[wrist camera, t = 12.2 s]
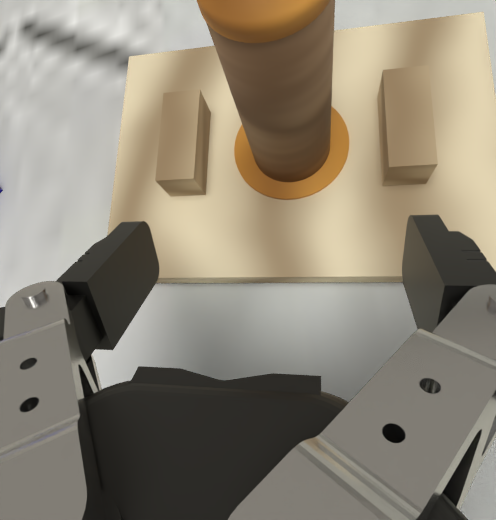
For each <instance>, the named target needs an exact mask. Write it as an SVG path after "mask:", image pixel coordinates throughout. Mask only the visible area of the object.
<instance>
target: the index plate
mask: <svg viewBox="0 0 496 520" xmlns="http://www.w3.org/2000/svg"><path fill="white" fill-rule="evenodd" d="M410 215H439V216H440V218H441V219H442V221H443V222H444V224H445V226H446V227H447V229H448V230H449V231H459V232H461V233H463V234H464V235H466V236H468V237H469V238H471V239H473V240H474V242H475V243H476V245H477V246H478V247H479V249H480V250H481V252H482V253H483V254H484V256H485V257H486V259H487V261H488V262H489V263H490V264H491V266H492V267H493V269H494V270H495V271H496V98H495V91H494V83H493V76H492V69H491V62H490V55H489V48H488V41H487V33H486V26H485V19H484V12H478V13H470V14H462V15H454V16H446V17H439V18H431V19H423V20H415V21H407V22H399V23H391V24H383V25H375V26H367V27H360V28H352V29H344V30H336V31H334V42H333V73H332V104H331V134H330V151H329V155H328V158H327V160H326V162H325V163H324V165H323V166H322V167H321V168H320V169H319V170H318V171H317V172H316V173H315V174H313V175H312V176H310V177H308V178H306V179H304V180H301V181H297V182H280V181H276V180H274V179H271V178H270V177H268V176H266V175H265V174H264V173H263V172H262V171H261V170H260V169H259V167H258V166H257V164H256V162H255V159H254V156H253V153H252V151H251V148H250V145H249V142H248V139H247V136H246V134H245V131H244V128H243V125H242V122H241V119H240V116H239V114H238V111H237V108H236V105H235V102H234V99H233V97H232V94H231V91H230V88H229V85H228V82H227V79H226V77H225V74H224V71H223V68H222V65H221V62H220V60H219V57H218V54H217V51H216V48H215V46H209V47H202V48H194V49H186V50H178V51H170V52H162V53H154V54H146V55H138V56H130V57H129V64H128V72H127V80H126V88H125V96H124V105H123V113H122V121H121V129H120V137H119V145H118V154H117V162H116V170H115V178H114V186H113V194H112V203H111V211H110V219H109V227H108V235H109V234H110V233H111V232H112V231H113V230H114V229H115V228H116V227H117V226H118V225H119V224H120V223H121V222H134V221H145V222H147V224H148V225H149V227H150V230H151V234H152V238H153V242H154V246H155V250H156V254H157V257H158V261H159V277H158V280H157V282H156V283H306V282H403V279H402V260H403V252H404V244H405V236H406V227H407V221H408V218H409V216H410ZM108 235H107V236H108Z"/></svg>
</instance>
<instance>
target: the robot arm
mask: <svg viewBox="0 0 496 520" xmlns="http://www.w3.org/2000/svg"><path fill="white" fill-rule="evenodd" d="M158 277H159V261H158V257H157V254H156V250H155V246H154V242H153V238H152V234H151V230H150V227H149V225H148V224H147V222H145V221H134V222H121V223H120V224H119V225H118V226H117V227H116V228H115V229H114V230H113V231H112V232H111V233H110V234H109V235H108V236H107V237H106V238H104V239H102V240H101V241H99V242H97V243H95V244H94V245H93V246H92V247H91V248H90V249H89V250H88V251H87V252H85V255H82V256H81V257H80V258H79V259H78V262H75V263H74V264H73V265H72V266H71V267H70V268H69V269H68V270H67V271H66V272H65V273H64V274H63V275H62V276H61V277H60V278H59V279H58V280H57V281H46V282H40V283H36V284H33V285H30V286H28V287H25V288H23V289H21V290H20V291H18V292H16V293H15V294H14V295H12V296H11V297H10V298H9V300H8V301H7V303H6V306H5V307H2V308H0V520H468V519H467V518H466V517H465V516H464V515H463V514H462V513H461V512H460V511H459V510H460V508H461V506H462V504H463V502H464V500H465V498H466V496H467V493H468V491H469V489H470V487H471V484H472V482H473V480H474V478H475V475H476V473H477V471H478V469H479V467H480V465H481V464H482V462H483V460H484V458H485V456H486V454H487V452H488V451H489V449H490V447H491V445H492V443H493V441H494V440H495V438H496V271H495V270H494V269H493V267H492V266H491V264H490V263H489V262H488V261H487V259H486V257H485V256H484V254H483V253H482V252H481V250H480V249H479V247H478V246H477V245H476V243H475V242H474V240H473V239H471V238H469V237H468V236H466V235H464V234H463V233H461V232H459V231H449V230H448V229H447V227H446V226H445V224H444V222H443V221H442V219H441V218H440V216H439V215H410V216H409V218H408V221H407V227H406V236H405V244H404V252H403V260H402V279H403V284H404V287H405V290H406V293H407V297H408V300H409V303H410V306H411V309H412V312H413V316H414V319H415V322H416V325H417V328H418V330H417V331H415V332H414V333H413V334H412V335H411V337H410V338H409V339H408V340H407V341H406V342H405V343H404V344H403V345H402V346H401V347H400V348H399V349H398V351H397V352H396V353H395V354H394V355H393V356H392V357H391V358H390V359H389V360H388V361H387V362H386V363H385V365H384V366H383V367H382V368H381V369H380V370H379V371H378V372H377V373H376V374H375V375H374V376H373V377H372V379H371V380H370V381H369V382H368V383H367V384H366V385H365V386H364V387H363V388H362V389H361V390H360V392H359V393H358V394H357V395H356V396H355V397H354V398H353V399H352V400H351V401H350V402H347V401H345V400H344V399H342V398H339V397H337V396H334V395H332V394H329V393H325V392H322V391H321V376H309V375H290V374H267V375H260V376H253V377H247V378H240V379H233V380H225V381H224V380H217V379H214V378H211V377H207V376H204V375H200V374H197V373H193V372H190V371H187V370H183V369H177V368H158V367H138V369H137V371H136V373H135V374H134V376H133V378H132V380H131V381H126V382H122V383H119V384H115V385H112V386H109V387H107V388H104V389H102V388H101V384H100V380H99V376H98V372H97V368H96V363H95V361H94V358H93V356H92V353H93V351H94V350H95V349H104V350H113V349H114V348H115V346H116V344H117V343H118V341H119V340H120V338H121V337H122V335H123V333H124V332H125V330H126V329H127V327H128V326H129V324H130V323H131V321H132V319H133V318H134V316H135V315H136V313H137V312H138V310H139V308H140V307H141V305H142V304H143V302H144V301H145V299H146V298H147V296H148V294H149V293H150V291H151V290H152V288H153V287H154V285H155V283H156V282H157V280H158Z"/></svg>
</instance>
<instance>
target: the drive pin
mask: <svg viewBox="0 0 496 520" xmlns="http://www.w3.org/2000/svg"><path fill="white" fill-rule="evenodd" d="M197 2H198V5H199V8H200V11H201V13H202V16H203V18H204V19H205V21H206V23H207V25H208V28H209V31H210V34H211V37H212V40H213V43H214V45H215V48H216V51H217V54H218V57H219V60H220V62H221V65H222V68H223V71H224V74H225V77H226V79H227V82H228V85H229V88H230V91H231V94H232V97H233V99H234V102H235V105H236V108H237V111H238V114H239V116H240V119H241V122H242V125H243V128H244V131H245V134H246V136H247V139H248V142H249V145H250V148H251V151H252V153H253V156H254V159H255V162H256V164H257V166H258V167H259V169H260V170H261V171H262V172H263V173H264V174H265V175H266V176H268V177H270V178H271V179H274V180H276V181H280V182H297V181H301V180H304V179H306V178H308V177H310V176H312V175H313V174H315V173H316V172H317V171H318V170H319V169H320V168H321V167H322V166H323V165H324V163H325V162H326V160H327V158H328V155H329V151H330V134H331V104H332V73H333V42H334V12H335V0H197Z"/></svg>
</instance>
